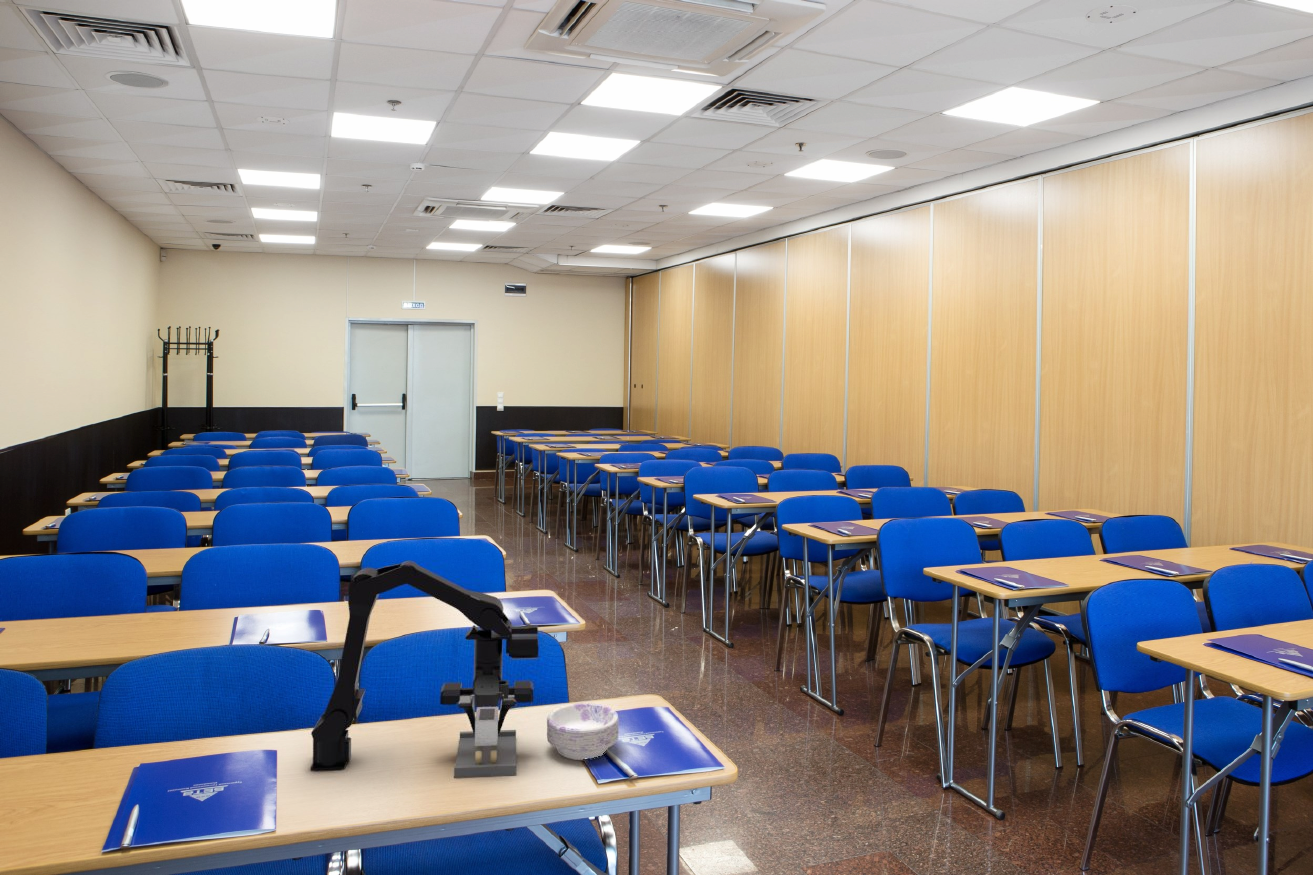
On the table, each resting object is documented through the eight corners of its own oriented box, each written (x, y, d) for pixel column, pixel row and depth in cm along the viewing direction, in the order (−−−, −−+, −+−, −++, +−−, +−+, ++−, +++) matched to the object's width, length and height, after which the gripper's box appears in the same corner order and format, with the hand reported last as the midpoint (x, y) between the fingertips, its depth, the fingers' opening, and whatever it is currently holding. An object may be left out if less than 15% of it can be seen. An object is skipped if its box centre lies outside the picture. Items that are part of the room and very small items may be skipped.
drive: (474, 746, 175) (475, 721, 174) (476, 730, 182) (476, 706, 182) (497, 745, 175) (497, 720, 175) (497, 729, 183) (498, 706, 183)
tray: (454, 777, 169) (454, 760, 169) (459, 740, 187) (460, 724, 187) (515, 775, 171) (516, 758, 171) (515, 738, 189) (516, 723, 189)
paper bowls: (535, 761, 178) (536, 724, 177) (560, 733, 193) (561, 698, 192) (606, 771, 174) (607, 733, 174) (626, 742, 189) (627, 706, 189)
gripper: (438, 673, 168) (437, 750, 169) (534, 670, 172) (532, 747, 172) (443, 655, 179) (441, 728, 180) (533, 653, 183) (531, 725, 183)
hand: (486, 732), depth 179 cm, fingers closed on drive, 4 cm apart
